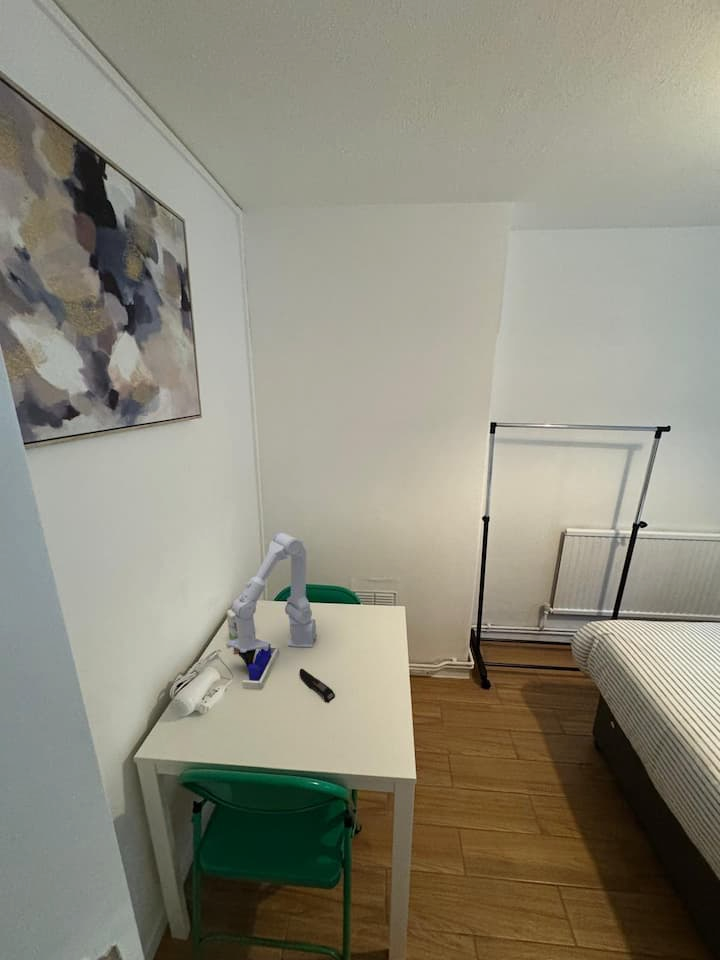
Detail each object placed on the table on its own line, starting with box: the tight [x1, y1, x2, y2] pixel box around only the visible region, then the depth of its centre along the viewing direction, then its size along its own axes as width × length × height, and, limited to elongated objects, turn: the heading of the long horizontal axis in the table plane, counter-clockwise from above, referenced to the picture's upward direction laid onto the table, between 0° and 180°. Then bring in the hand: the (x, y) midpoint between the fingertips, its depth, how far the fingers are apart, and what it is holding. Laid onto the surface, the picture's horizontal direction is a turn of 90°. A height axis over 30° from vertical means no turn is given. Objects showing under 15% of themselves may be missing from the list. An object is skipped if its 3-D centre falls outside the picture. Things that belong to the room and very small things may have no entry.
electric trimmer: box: [298, 668, 336, 703], centre depth 121 cm, size 4×16×3 cm, turn 45°
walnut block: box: [233, 638, 240, 655], centre depth 140 cm, size 4×4×4 cm
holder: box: [241, 645, 280, 690], centre depth 130 cm, size 6×18×2 cm, turn 173°
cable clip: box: [247, 643, 272, 681], centre depth 129 cm, size 12×4×6 cm, turn 172°
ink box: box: [226, 608, 238, 640], centre depth 147 cm, size 9×5×12 cm, turn 129°
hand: (250, 665), depth 130 cm, fingers closed
